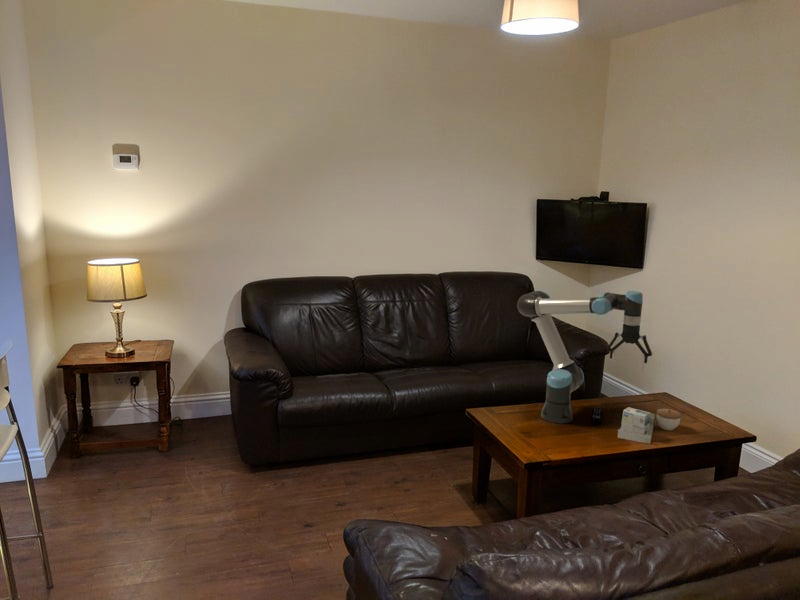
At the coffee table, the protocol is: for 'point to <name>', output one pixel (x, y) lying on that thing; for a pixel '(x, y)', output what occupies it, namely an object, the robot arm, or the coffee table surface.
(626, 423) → the light bulb box
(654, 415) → the olive green block
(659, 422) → the lidded jar
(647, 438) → the chute
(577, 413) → the coffee table surface
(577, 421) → the coffee table surface
